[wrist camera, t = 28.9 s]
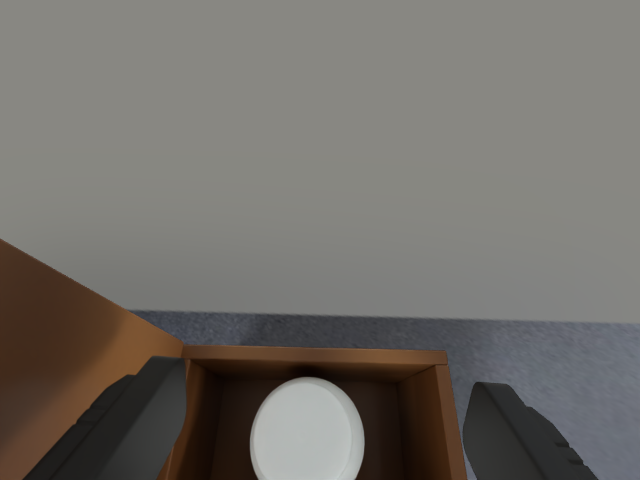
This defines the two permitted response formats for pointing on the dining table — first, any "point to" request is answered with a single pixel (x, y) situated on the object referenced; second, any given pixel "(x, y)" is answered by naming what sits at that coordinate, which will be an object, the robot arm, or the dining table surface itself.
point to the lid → (59, 355)
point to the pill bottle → (307, 433)
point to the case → (347, 374)
